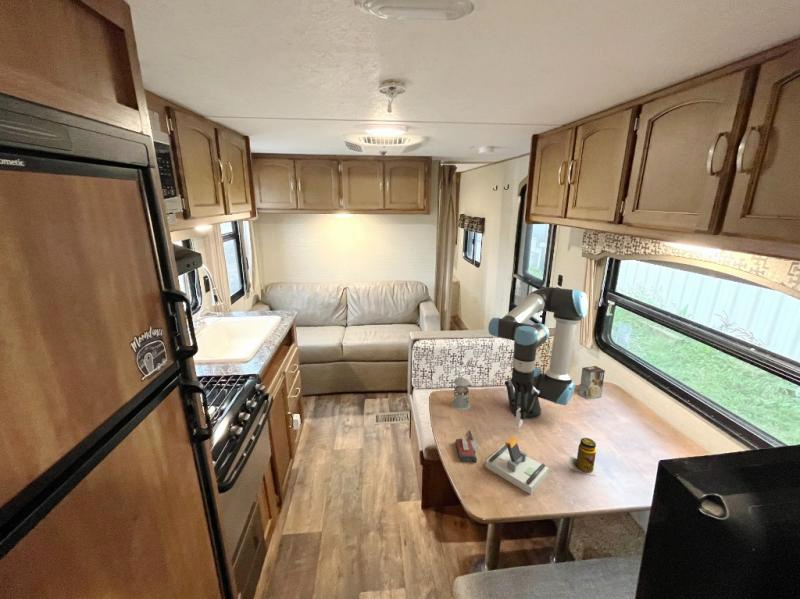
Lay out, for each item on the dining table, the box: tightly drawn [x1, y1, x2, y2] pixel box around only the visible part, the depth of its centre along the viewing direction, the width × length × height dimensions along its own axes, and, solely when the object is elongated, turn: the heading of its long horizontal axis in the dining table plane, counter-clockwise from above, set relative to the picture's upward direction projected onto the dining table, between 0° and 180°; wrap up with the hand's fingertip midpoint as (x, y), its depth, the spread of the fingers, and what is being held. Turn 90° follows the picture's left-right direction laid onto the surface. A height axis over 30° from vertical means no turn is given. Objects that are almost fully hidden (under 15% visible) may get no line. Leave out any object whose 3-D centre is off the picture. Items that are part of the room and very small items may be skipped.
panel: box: [485, 444, 550, 495], centre depth 133 cm, size 14×19×6 cm
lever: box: [504, 436, 523, 466], centre depth 133 cm, size 6×2×10 cm, turn 133°
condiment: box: [569, 437, 597, 477], centre depth 134 cm, size 7×8×12 cm
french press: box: [451, 361, 471, 412], centre depth 177 cm, size 10×12×25 cm
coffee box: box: [579, 365, 606, 400], centre depth 185 cm, size 9×6×16 cm
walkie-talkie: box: [455, 430, 478, 463], centre depth 147 cm, size 9×4×20 cm
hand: (518, 425), depth 129 cm, fingers closed
